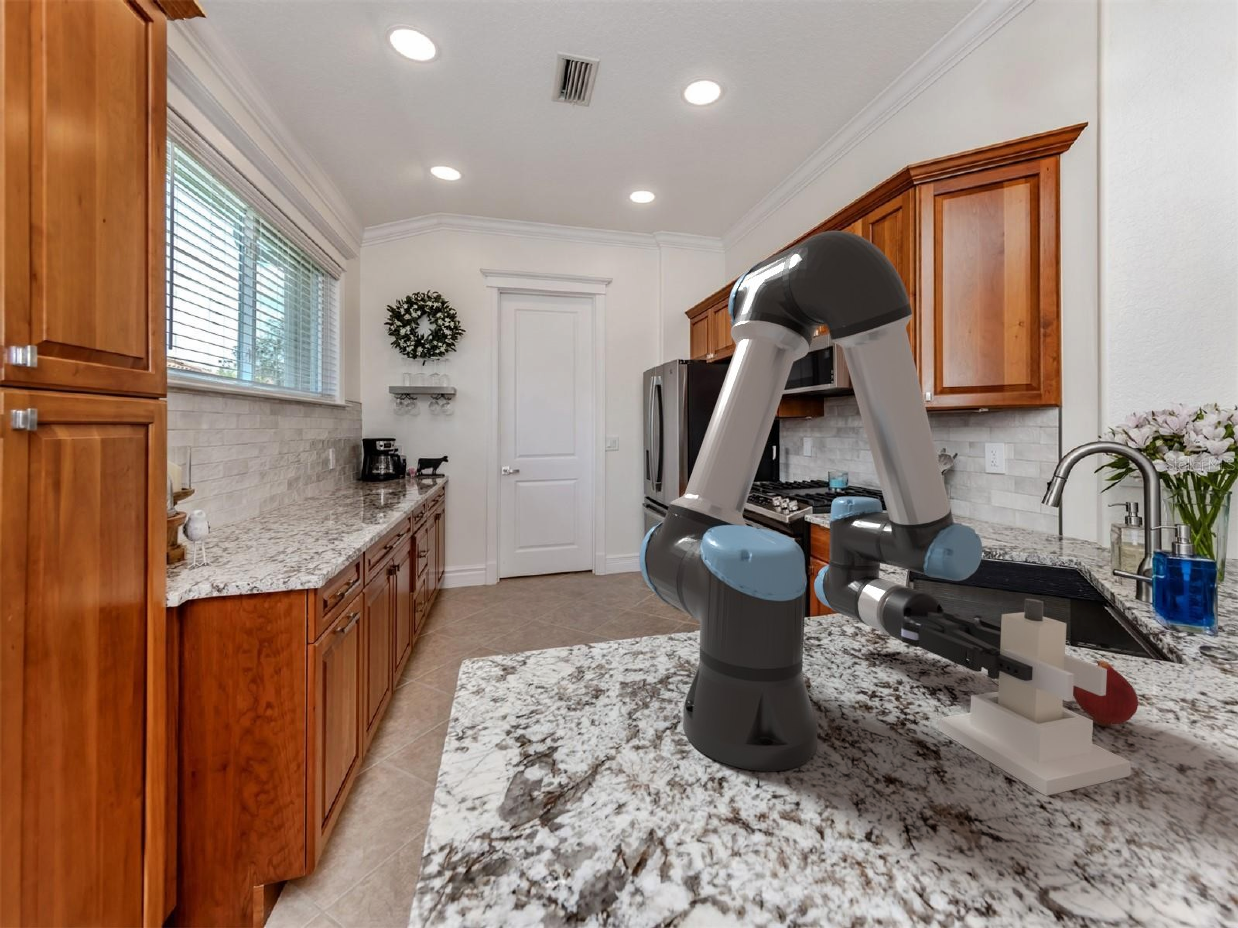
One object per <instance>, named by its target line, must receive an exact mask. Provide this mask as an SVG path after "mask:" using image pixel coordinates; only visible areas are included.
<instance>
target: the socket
mask: <svg viewBox="0 0 1238 928" xmlns="http://www.w3.org/2000/svg"><path fill="white" fill-rule="evenodd" d="M998 692H999V690H998V691H991V692H984V693H979V694H971V695H970V712H966V713H959V714H955V715H947V716H943V717H938V720H937V721H938V724H937V731H938V732H940V733H942V734H944V735H945V736H947V737H949V738H950V739H952V740H954V741H955V742H956V743H959V744H960V745H962V746H963V747H965V748H966V749H968V750H970V751H971V752H973V753H974V754H977V755H978V756H979V757H981V758H983V759H984V760H986V761H987V762H989V763H991V764H993V765H995V766H997V768H1000V770H1003V772H1006V773H1007V774H1009V775H1010V776H1013V777H1014V778H1016V779H1017V780H1019V781H1020V782H1022V783H1024V784H1025V785H1027V786H1029V787H1031V788H1032V789H1034V790H1036V791H1037V792H1039V793H1040V794H1042V795H1044V797H1047V796H1051V795H1052V796H1053V795H1056V794H1060V793H1064V792H1069V791H1073V790H1077V789H1082V788H1085V787H1090V786H1094V785H1098V784H1103V783H1107V782H1112V781H1115V780H1119V779H1124V778H1129V777H1131V770H1132V761H1130V760H1128V759H1126V758H1123V757H1122V756H1120V755H1118V754H1115V753H1113V752H1111V751H1110V750H1108V749H1105V748H1103V747H1100V746H1098V744H1095V743H1093V728H1094V727H1093V726H1094V719H1090V718H1088V717H1087V716H1084V715H1081V714H1079V713H1077V712H1074V711H1072V710H1070V709H1068V708H1066V707H1064V706H1063V708H1062V720H1056V721H1051V722H1045V723H1040V724H1037V723H1035V722H1033V721H1031V720H1029V719H1027V718H1025V717H1022V716H1020V715H1018V714H1016V713H1014V712H1012V711H1010V710H1008V709H1006V708H1004V707H1002V706H1000V705H998ZM1111 780H1112V781H1111Z"/></svg>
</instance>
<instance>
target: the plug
mask: <svg viewBox="0 0 1238 928" xmlns="http://www.w3.org/2000/svg"><path fill="white" fill-rule="evenodd" d="M1066 642H1067V622H1062V621H1060V620H1057V619H1053V618H1051V617H1046V616H1044V601H1042V600H1039V599H1035V598H1025V599H1024V611H1023V612H1013V613H1003V614H1001V645H1000V654H1002V655H1003V650H1005V649H1009V650H1012V651H1015V652H1017V653H1020V654H1023V655H1025V656H1028V657H1030V658H1033V659H1036V660H1038V661H1041V662H1044V663H1046V664H1049V665H1052V666H1054V667H1057V668H1059V669H1062V670H1064V663H1065V654H1066ZM1002 673H1003V672H1001V671H1000V672H999V679H998V691H999V692H998V705H1000V706H1002V707H1004V708H1006V709H1008V710H1010V711H1012V712H1014V713H1016V714H1018V715H1020V716H1022V717H1025V718H1027V719H1029V720H1031V721H1033V722H1035V723H1037V724H1040V723H1045V722H1051V721H1056V720H1062V708H1063V707H1064V705H1063V704H1064V700H1062V699H1060V698H1058V697H1056V696H1053V695H1051V694H1049V693H1046V692H1044V691H1042V690H1039V689H1037V688H1035V687H1032V686H1030V685H1028V684H1025V683H1023V682H1021V681H1018V680H1016V679H1014V678H1012V677H1009V676H1007V675H1005V674H1002Z"/></svg>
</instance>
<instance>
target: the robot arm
mask: <svg viewBox="0 0 1238 928" xmlns="http://www.w3.org/2000/svg"><path fill="white" fill-rule="evenodd" d="M909 298H910V297H909V295H908V292H907V290H906V287H905V285H904V282H903V280H902V278H901V276H900V274H899V273H898V271H897V270H896V268H895V266H894V264H893V263H892V262H891V261H890V259H889V258H888V257H887V256H886V255H885V254H884V252H882V250H881V249H880V248H879V247H877V245H875V244H874V243H872V242H871V241H870V240H868V239H867V238H865V237H863V236H861V235H858V234H855V233H853V232H849V231H844V230H843V231H842V230H827V231H823V232H822V231H821V232H819V233H817V234H814V235H812V236H810V237H808V238H806V239H805V240H803V241H802V242H800V243H798V244H795V245H793V246H791V247H789V248H788V249H785V250H783V251H781V252H779V253H777V254H775V255H773V256H771V257H769V258H766V259H763V260H761V261H759V262H758V263H756V264H755V265H753V266H752V267H750V268H749V270H747V271H745V272H744V273H743V274H742V275H741V276H740V277H739V278H738V279H737V281H736V282H735V284H734V286H733V287H732V289H731V291H730V295H729V299H728V307H727V308H728V315H730V316H731V319H730V323H731V329H730V336H731V339H732V340H733V342H734V344H735V345H736V346H735V350H734V352H733V355H732V358H731V361H730V363H729V366H728V369H727V372H726V374H725V378H724V381H723V383H722V387H721V388H720V392H719V395H718V398H717V400H716V404H715V406H714V408H713V412H712V415H711V418H710V421H709V422H708V426H707V429H706V431H705V434H704V438H703V441H702V444H701V447H700V449H699V452H698V455H697V458H696V460H695V463H694V466H693V469H692V473H691V475H690V478H689V481H688V484H687V487H686V489H685V492H684V494H683V495H682V496H680V497H678V498H676V499H674V500H672V501H671V502H670V503H669V505H668V508H667V511H666V514H665V517H664V519H663V521H662V520H661V522H659V523H658V524H656V525H655V526H652V528H650V530H648V532H647V533H646V534H645V536H644V538H643V540H642V542H641V546H640V550H639V557H638V558H639V559H638V560H639V569H640V572H641V575H642V578H643V580H644V582H645V584H646V586H648V587H649V589H650V590H651V591H652V592H653V593H655V594H656V596H657V597H659V599H661V600H662V602H664V603H666V604H668V605H671V606H673V607H676V608H677V609H679V610H680V611H682V612H684V613H685V614H687V615H689V616H690V617H692V618H693V619H695V620H697V621H698V622H699V625H700V626H699V659H698V660H699V661H698V665H697V667H696V670H695V674H694V676H693V678H692V680H691V681H692V682H691V683H690V687H689V690H688V692H687V695H686V697H685V698H686V699H685V700H684V704H683V712H682V713H683V715H682V717H683V719H682V721H683V722H682V724H683V725H682V728H683V732H684V734H685V737H686V739H687V740H688V741H689V742H690V743H691V744H692V746H693V747H695V748H696V749H697V750H698V751H700V752H701V753H702V754H704V755H706V756H707V757H709V758H711V759H713V760H715V761H717V762H720V763H723V764H725V765H728V766H732V767H735V768H740V769H745V770H749V771H758V772H777V771H779V772H780V771H784V770H785V771H786V770H792V769H794V768H797V767H800V766H802V765H804V764H806V763H807V762H808V761H810V760H811V759H812V758H813V757H814V756H815V754H816V752H817V747H818V725H817V719H816V717H815V712H814V709H813V707H812V706H813V705H812V702H811V700H810V697H809V693H808V690H807V689H808V688H807V685H806V683H805V678H804V676H803V659H804V657H803V656H804V641H805V640H804V639H805V637H804V636H805V621H806V620H805V617H806V616H805V615H806V597H807V584H808V579H807V574H806V564H805V563H806V560H805V558H806V557H805V554H804V551H803V549H802V548H801V546H800V545H799V544H798V543H797V542H796V540H794V539H792V538H790V537H788V536H786V535H784V534H781V533H780V532H777V531H773V530H770V529H767V528H756V526H749V525H747V524H746V522H745V519H744V517H743V516H744V515H743V514H744V510H745V507H746V503H747V501H748V498H749V495H750V492H751V489H752V487H753V483H754V480H755V477H756V474H757V471H758V468H759V465H760V462H761V460H762V456H763V454H764V451H765V447H766V445H767V441H768V438H769V435H770V432H771V430H772V426H773V424H774V420H775V418H776V415H777V411H778V408H779V406H780V402H781V400H782V396H783V394H784V390H785V387H786V385H787V381H788V378H789V376H790V373H791V370H792V367H793V364H794V362H796V361H798V360H800V359H802V358H804V357H806V355H808V353H809V350H810V348H811V345H812V341H813V339H814V336H815V333H816V330H817V329H818V328H819V327H822V326H826V327H827V329H828V332H829V336H830V340H831V343H834V344H836V345H838V346H840V347H841V348H842V352H843V356H844V359H845V363H846V366H847V368H848V369H847V370H848V372H849V377H850V381H851V385H852V387H853V391H854V395H855V399H856V403H857V406H858V410H859V413H860V414H859V415H860V417H861V420H862V423H863V428H864V431H865V435H866V439H867V442H868V446H869V450H870V452H871V453H870V454H871V458H872V461H873V463H874V467H875V471H876V474H877V479H878V482H879V485H880V489H881V493H882V496H883V501H884V504H885V507H886V511H887V513H885V512H884V510H883V507H882V506H883V505H882V502H881V500H879V499H878V498H874V497H865V496H839V497H836V498H834V499H833V500H832V502H831V507H830V508H831V509H830V516H829V517H830V518H829V522H828V524H829V562H828V564H827V565H825V566H823V567H822V568H821V569H820V570H819V571H818V573H817V576H816V578H814V579H815V580H814V584H813V585H814V587H813V588H814V593H815V595H816V598H818V600H819V602H820V603H822V604H823V605H824V606H826V607H828V608H830V609H831V610H832V611H834V612H835V613H837V614H840V615H842V616H846V617H848V618H850V619H853V620H856V621H858V622H860V623H862V624H864V625H866V626H868V627H871V628H873V629H875V630H877V631H879V632H880V634H881V635H883V636H891V637H892V638H894V639H896V640H898V641H900V642H902V643H903V644H907V645H908V646H912V647H915V648H919V649H921V650H922V649H923V650H924V651H926V652H929V653H932V654H933V655H936V656H938V657H941V658H942V659H945V660H948V661H950V662H951V663H954V664H957V665H959V666H961V667H963V668H966V669H969V670H970V671H973V672H975V673H976V672H977V673H978V672H980V673H981V672H982V671H983V670H982V669H985V670H987V678H990V679H993V680H999V672H1000V671H1001V672H1003V673H1002V674H1005V675H1007V676H1009V677H1012V678H1014V679H1016V680H1018V681H1021V682H1023V683H1025V684H1028V685H1030V686H1032V687H1035V688H1037V689H1039V690H1042V691H1044V692H1046V693H1049V694H1051V695H1053V696H1056V697H1058V698H1060V699H1062V700H1063V701H1065V702H1073V701H1074V700H1073V699H1074V696H1073V685H1074V686H1077V687H1079V688H1082V689H1084V690H1087V691H1089V692H1092V693H1094V694H1097V695H1099V696H1104V695H1106V678H1107V669H1105V668H1102V667H1099V666H1097V665H1098V664H1097V665H1096V664H1093V663H1091V662H1088V661H1086V660H1082V659H1079V658H1077V657H1074V656H1071V655H1068V654H1066V653H1065V663H1064V670H1062V669H1059V668H1057V667H1054V666H1052V665H1049V664H1046V663H1044V662H1041V661H1038V660H1036V659H1033V658H1030V657H1028V656H1025V655H1023V654H1020V653H1017V652H1015V651H1012V650H1009V649H1005V650H1003V655H1002V654H1000V645H1001V624H1000V623H998V622H995V621H994V620H993V621H992V620H990V619H988V618H987V617H985V616H982V615H979V614H975V615H973V619H971V618H968V617H964V616H961V615H959V613H957V612H954V611H953V612H952V611H949V610H944V609H943V607H942V606H941V604H940V602H939V601H938V599H936V597H935V596H933V595H931V594H929V593H927V592H924V591H921V590H917V589H914V588H911V587H908V586H906V585H904V584H900V583H897V582H894V581H890V580H887V579H884V578H881V577H880V570H881V564H883V565H887V566H892V567H896V568H901V569H904V570H907V571H911V572H915V573H918V574H923V575H926V576H927V577H930V578H939V579H944V580H948V581H949V580H950V581H954V582H955V581H956V582H958V581H959V582H960V581H964V580H966V579H968V578H970V576H972V575H974V574H975V573H976V571H977V570H978V568H979V566H980V564H981V561H982V559H983V543H982V539H981V537H980V535H979V534H977V533H976V530H975V529H974V528H972V527H971V526H968V525H965V524H963V523H959V522H955V521H954V517H953V514H952V508H951V507H950V503H949V499H948V495H947V490H946V487H945V482H944V478H943V475H942V474H943V473H942V469H941V465H940V462H939V458H938V454H937V451H936V445H935V441H934V437H933V433H932V429H931V426H930V422H929V421H930V420H929V418H928V413H927V409H926V404H925V401H924V397H923V393H922V388H921V385H920V381H919V377H918V376H919V375H918V372H917V367H916V363H915V360H914V356H913V351H912V348H911V344H910V339H909V336H908V332H907V325H908V324H909V322H910V321H911V320H912V318H913V311H912V307H911V302H910V299H909Z"/></svg>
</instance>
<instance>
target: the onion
mask: <svg viewBox="0 0 1238 928" xmlns="http://www.w3.org/2000/svg"><path fill="white" fill-rule="evenodd" d="M1096 663H1097V666H1099V667H1102V668H1105V669H1107V678H1106V695H1104V696H1099V695H1097V694H1094V693H1092V692H1089V691H1087V690H1084V689H1082V688H1079V687H1077V686H1074V685H1073V699H1074V700H1075V702H1076V703H1077V705H1078V706H1079V707H1080V708H1081V709H1082V710H1083V712H1085V713H1086V714H1087V715H1088V716H1089V717H1091V718H1092V720H1093V721H1094V722H1096V723H1097V725H1099V726H1103V727H1109V726H1113V725H1118V724H1123V723H1125V722H1126V721H1129V720H1131V718H1133V716H1134V715H1135V714H1136V713H1137V711H1138V708H1139V698H1138V695H1137V692H1136V690H1135V689H1134V687H1133V685H1131V683H1130V682H1129V681H1128V680H1127V679H1126V678H1125V676H1123V675H1122V674H1121V673H1120V672H1119V671H1117V670H1115V669H1114V668H1113V667H1112V665H1111V664H1110V663H1109V662H1107V661H1105V660H1097V661H1096Z"/></svg>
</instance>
